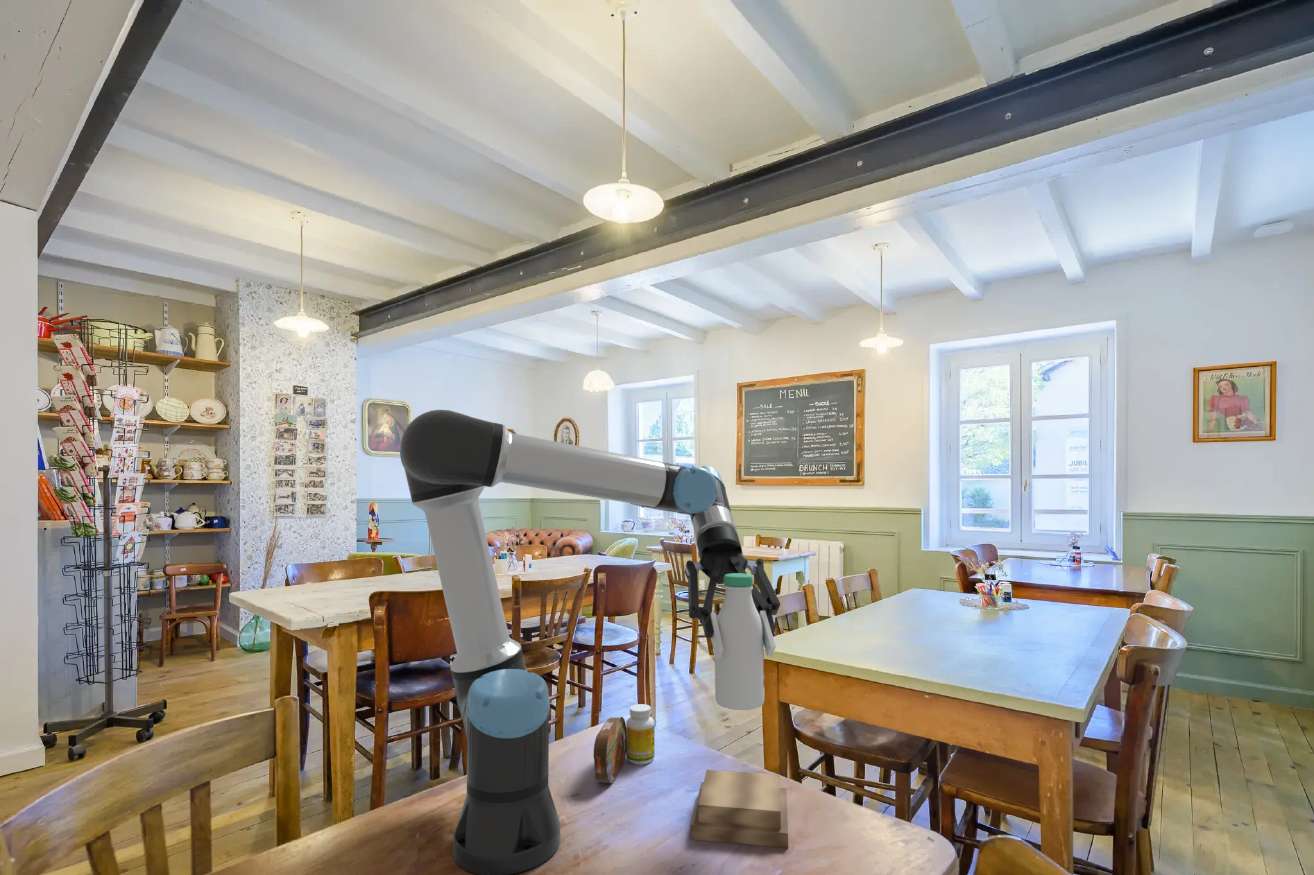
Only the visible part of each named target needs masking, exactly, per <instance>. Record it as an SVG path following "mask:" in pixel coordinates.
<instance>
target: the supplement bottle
mask: <svg viewBox="0 0 1314 875" xmlns="http://www.w3.org/2000/svg"><path fill="white" fill-rule="evenodd" d="M651 715H652V708H651V706H650V705H649V704H644V703H643V704H642V703H641V704H640V703H638V704H632V705H631V706H630V707H629V716H630V717H629V718H628V719H627V720H626V722H625V723H626V757H625V758H626V760H627V762H629V763H631V764H633V765H639V766H640V765H641V766H642V765H643V766H644V765H647V764H650V763H652V762H653V761H654V760H655V736H656V735H655V733H656V732H655V730H656V729H655V728H656V726H655V720H654V718H653V717H652V716H651Z"/></svg>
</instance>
